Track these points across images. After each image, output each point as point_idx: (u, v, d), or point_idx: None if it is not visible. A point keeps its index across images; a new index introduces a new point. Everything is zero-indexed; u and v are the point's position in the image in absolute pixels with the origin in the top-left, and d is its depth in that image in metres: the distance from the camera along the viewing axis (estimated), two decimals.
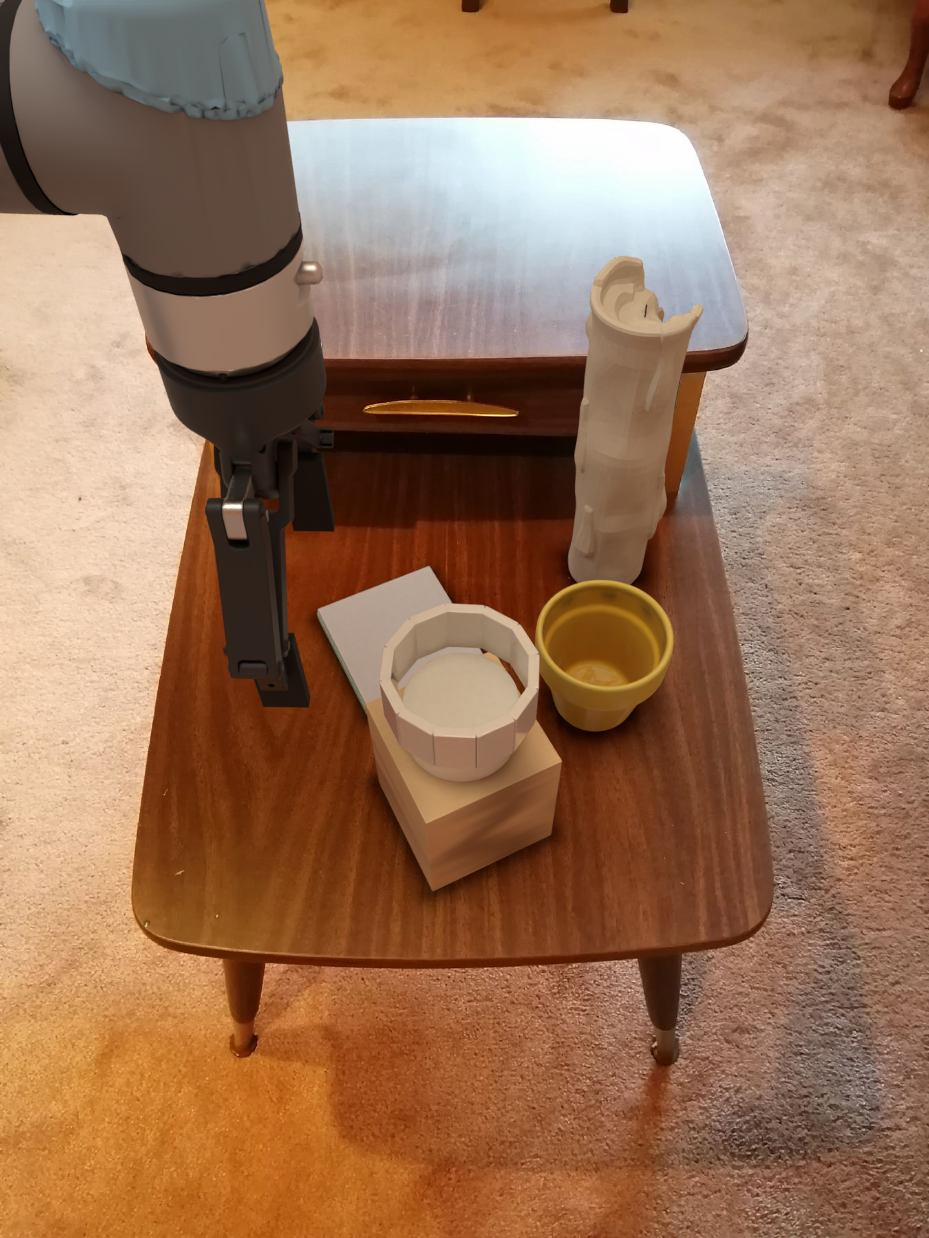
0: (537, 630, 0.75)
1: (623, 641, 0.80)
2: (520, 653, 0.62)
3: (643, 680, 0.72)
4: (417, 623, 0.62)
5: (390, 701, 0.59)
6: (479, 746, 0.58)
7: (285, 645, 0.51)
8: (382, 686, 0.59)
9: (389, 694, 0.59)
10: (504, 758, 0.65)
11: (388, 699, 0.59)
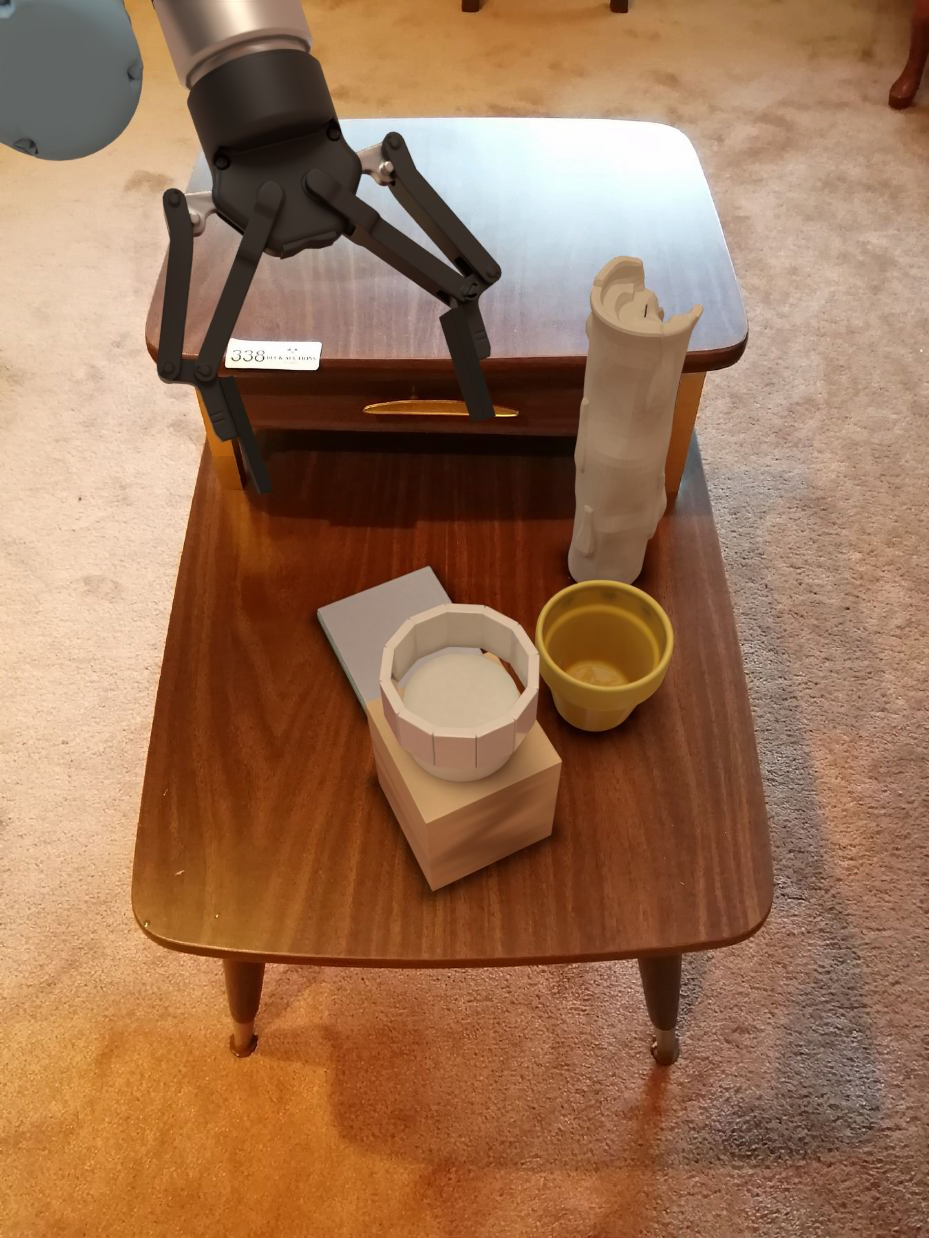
0: (537, 630, 0.75)
1: (623, 641, 0.80)
2: (520, 653, 0.62)
3: (643, 680, 0.72)
4: (417, 623, 0.62)
5: (390, 701, 0.59)
6: (479, 746, 0.58)
7: None
8: (382, 686, 0.59)
9: (389, 694, 0.59)
10: (504, 758, 0.65)
11: (388, 699, 0.59)
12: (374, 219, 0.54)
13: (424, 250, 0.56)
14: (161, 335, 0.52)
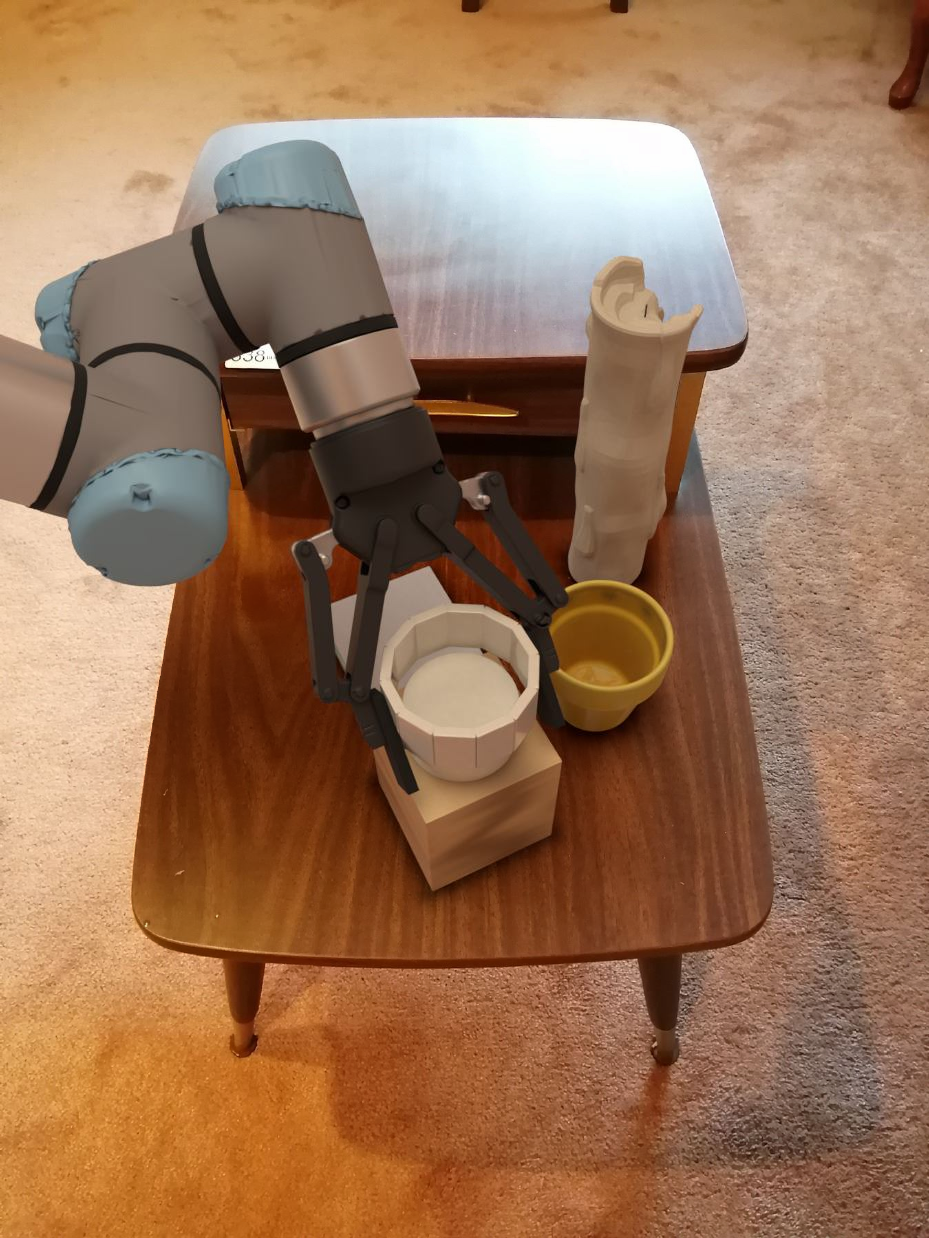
0: None
1: (623, 641, 0.80)
2: (520, 652, 0.62)
3: (643, 680, 0.72)
4: (417, 623, 0.62)
5: (390, 701, 0.59)
6: (479, 746, 0.58)
7: None
8: (382, 686, 0.59)
9: (389, 694, 0.59)
10: (504, 758, 0.65)
11: (388, 699, 0.59)
12: (470, 550, 0.60)
13: (508, 579, 0.62)
14: (317, 668, 0.58)
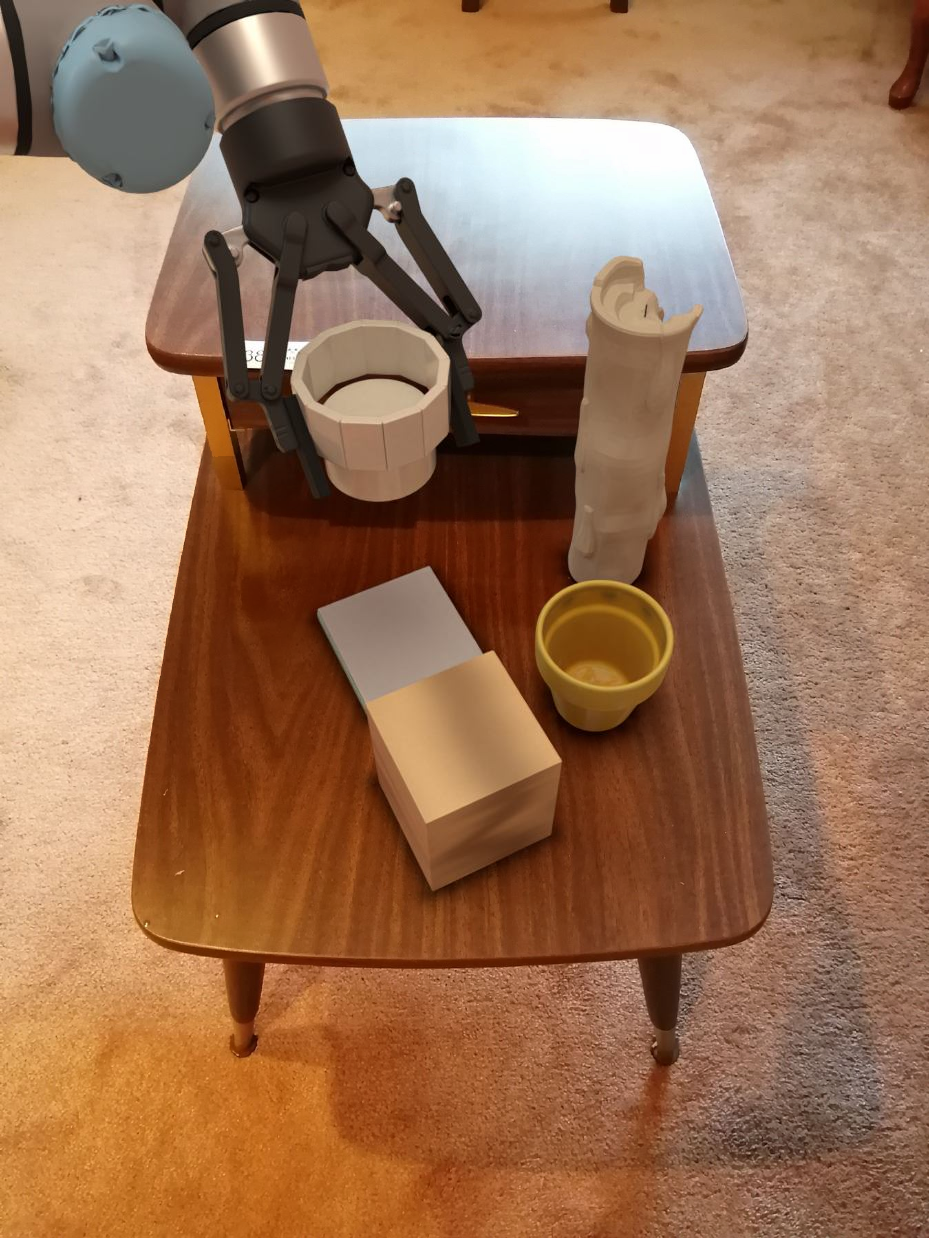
0: (537, 630, 0.75)
1: (623, 641, 0.80)
2: (432, 363, 0.63)
3: (643, 680, 0.72)
4: (331, 335, 0.63)
5: (300, 396, 0.60)
6: (387, 437, 0.59)
7: None
8: (293, 384, 0.60)
9: (299, 390, 0.60)
10: (420, 478, 0.65)
11: (298, 394, 0.60)
12: (381, 253, 0.61)
13: (420, 288, 0.62)
14: (227, 361, 0.59)
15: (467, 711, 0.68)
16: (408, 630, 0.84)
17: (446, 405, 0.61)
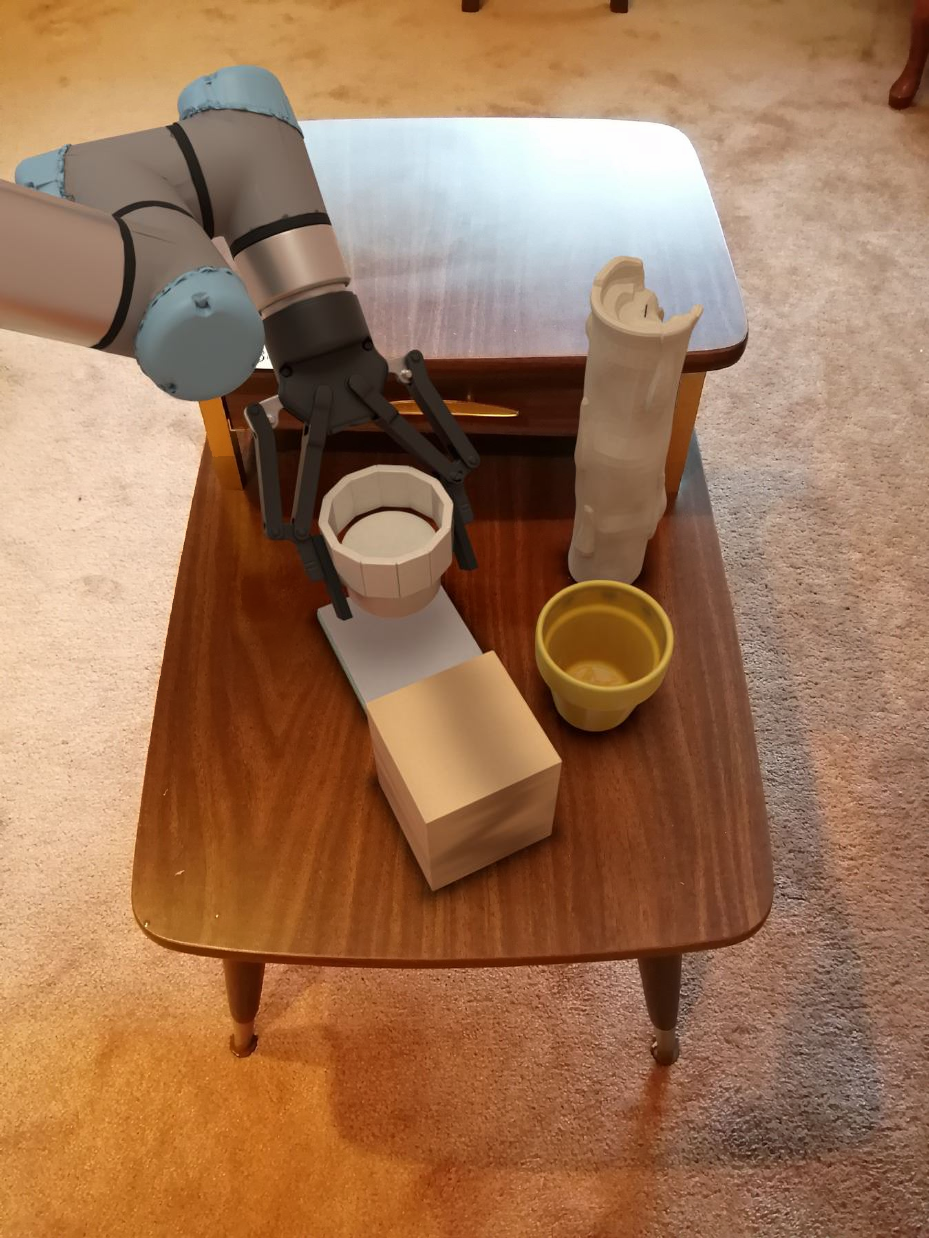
0: (537, 630, 0.75)
1: (623, 641, 0.80)
2: (438, 504, 0.74)
3: (643, 680, 0.72)
4: (352, 480, 0.74)
5: (326, 538, 0.71)
6: (400, 574, 0.70)
7: None
8: (320, 527, 0.71)
9: (326, 533, 0.71)
10: (428, 598, 0.76)
11: (325, 536, 0.71)
12: (394, 415, 0.72)
13: (427, 441, 0.74)
14: (266, 509, 0.70)
15: (467, 711, 0.68)
16: (408, 630, 0.84)
17: (450, 543, 0.72)
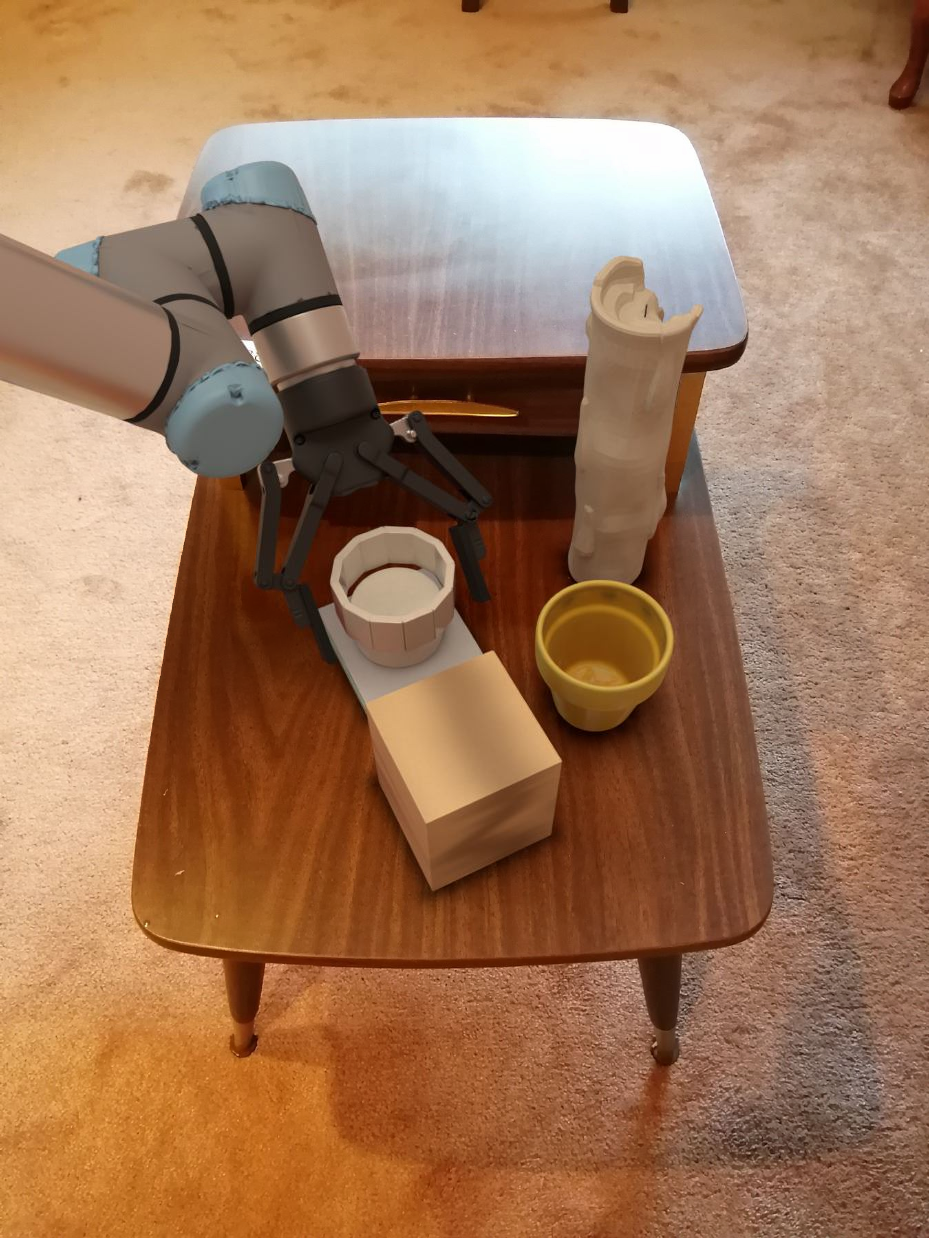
0: (537, 630, 0.75)
1: (623, 641, 0.80)
2: (441, 563, 0.80)
3: (643, 680, 0.72)
4: (361, 540, 0.80)
5: (338, 597, 0.77)
6: (406, 631, 0.76)
7: None
8: (332, 586, 0.77)
9: (337, 592, 0.77)
10: (431, 649, 0.82)
11: (336, 596, 0.77)
12: (404, 471, 0.78)
13: (438, 489, 0.79)
14: (259, 560, 0.75)
15: (467, 711, 0.68)
16: None
17: (452, 600, 0.78)
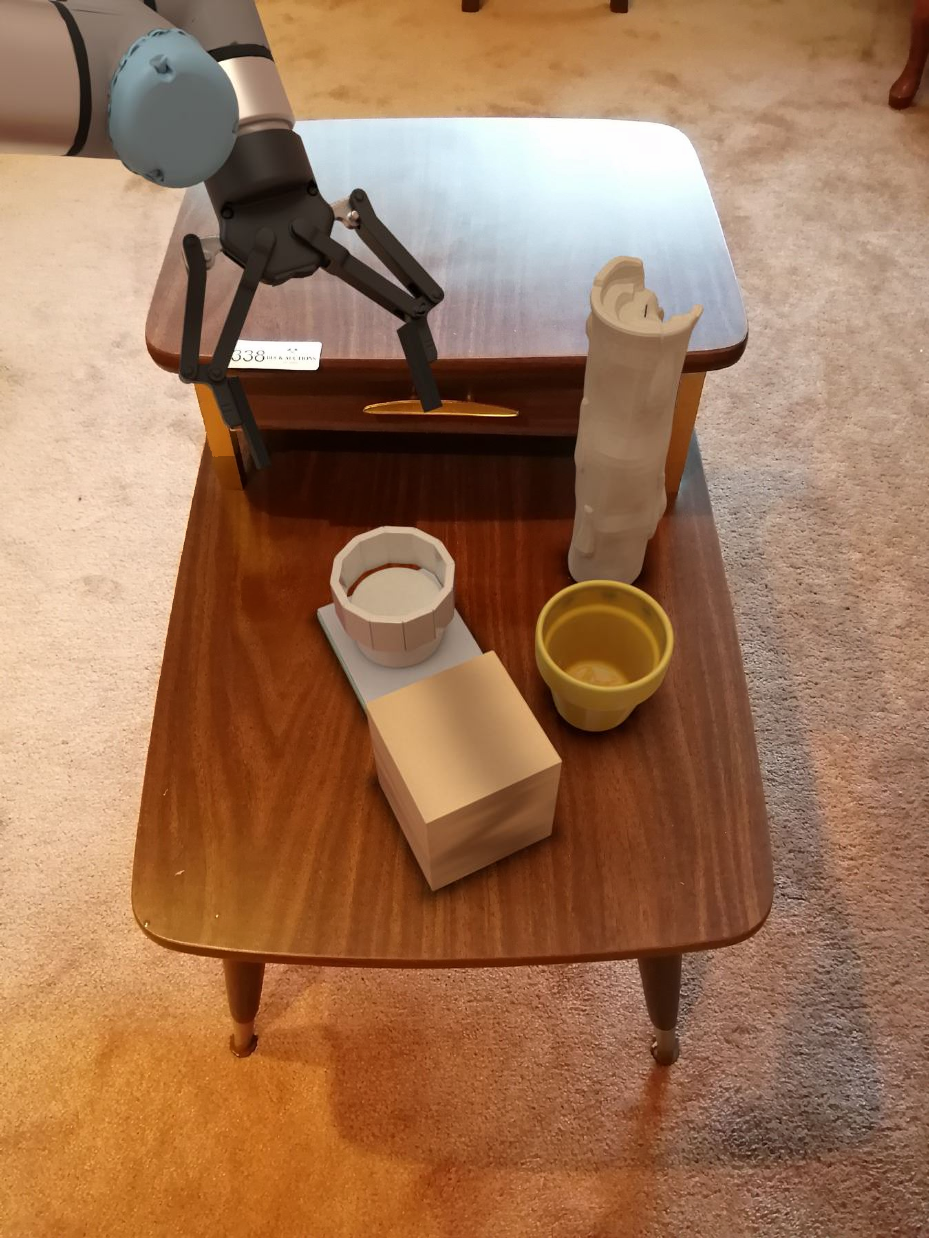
0: (537, 630, 0.75)
1: (623, 641, 0.80)
2: (441, 563, 0.80)
3: (643, 680, 0.72)
4: (361, 540, 0.80)
5: (338, 597, 0.77)
6: (406, 631, 0.76)
7: None
8: (332, 586, 0.77)
9: (337, 592, 0.77)
10: (431, 649, 0.82)
11: (336, 596, 0.77)
12: (345, 255, 0.70)
13: (384, 278, 0.72)
14: (183, 345, 0.68)
15: (467, 711, 0.68)
16: None
17: (452, 600, 0.78)
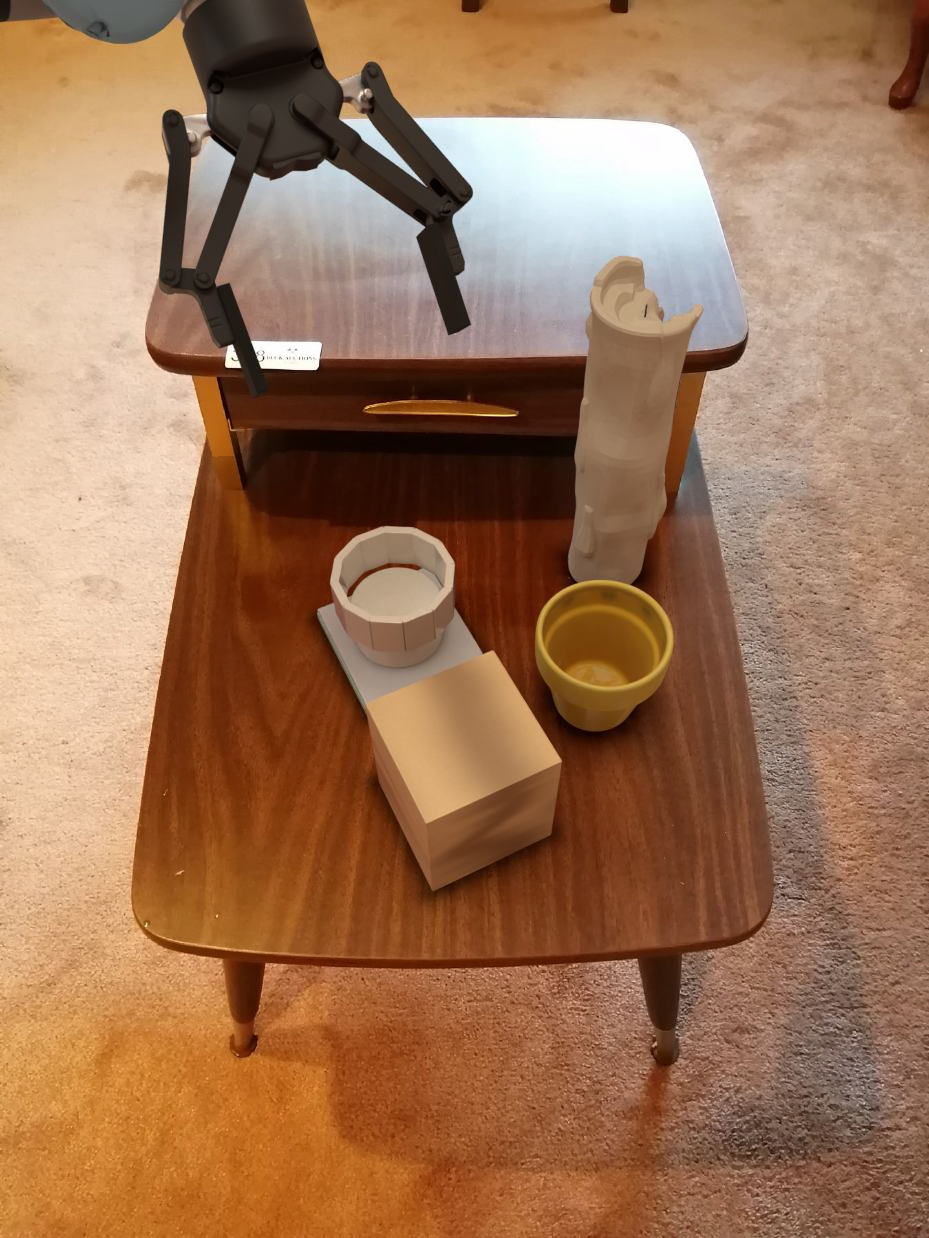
0: (537, 630, 0.75)
1: (623, 641, 0.80)
2: (441, 563, 0.80)
3: (643, 680, 0.72)
4: (361, 540, 0.80)
5: (338, 597, 0.77)
6: (406, 631, 0.76)
7: None
8: (332, 586, 0.77)
9: (337, 592, 0.77)
10: (431, 649, 0.82)
11: (336, 596, 0.77)
12: (356, 140, 0.59)
13: (402, 170, 0.61)
14: (163, 244, 0.57)
15: (467, 711, 0.68)
16: None
17: (452, 600, 0.78)
